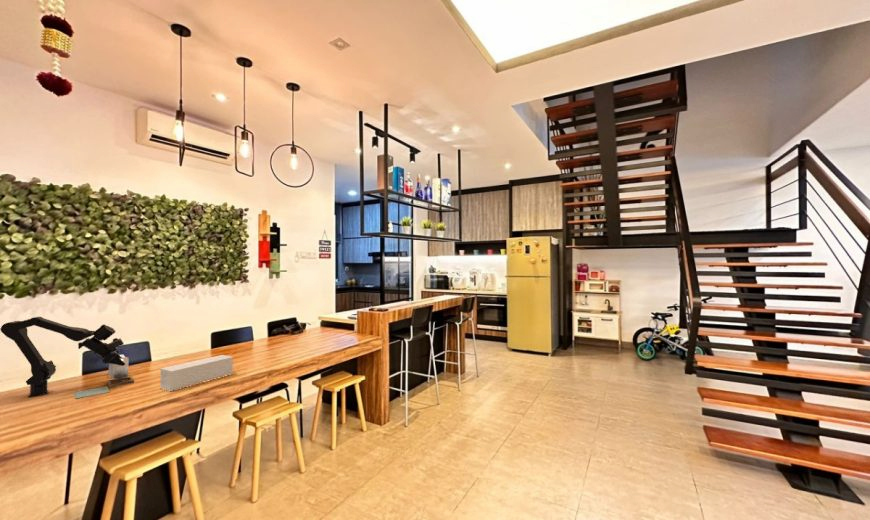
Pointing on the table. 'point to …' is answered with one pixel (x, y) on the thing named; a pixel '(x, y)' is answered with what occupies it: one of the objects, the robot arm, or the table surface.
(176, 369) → the long grey concrete block
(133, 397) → the table surface
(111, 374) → the grey boxy fixture
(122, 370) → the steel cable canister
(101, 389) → the mat
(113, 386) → the walnut collar
